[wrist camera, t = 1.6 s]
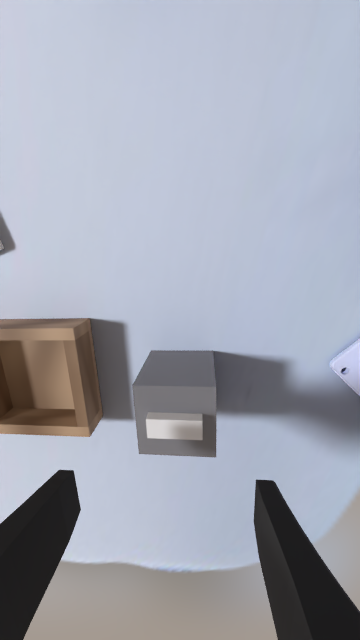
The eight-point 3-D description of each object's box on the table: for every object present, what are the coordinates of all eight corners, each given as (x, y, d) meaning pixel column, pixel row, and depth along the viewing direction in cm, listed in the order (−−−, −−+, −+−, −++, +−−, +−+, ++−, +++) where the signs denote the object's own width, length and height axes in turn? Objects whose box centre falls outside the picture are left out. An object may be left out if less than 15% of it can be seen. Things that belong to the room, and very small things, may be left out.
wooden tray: (89, 318, 18) (73, 328, 16) (103, 415, 20) (89, 436, 18) (-14, 319, 19) (-44, 329, 17) (9, 413, 21) (-15, 433, 19)
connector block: (213, 350, 18) (216, 393, 13) (213, 405, 19) (216, 466, 14) (151, 350, 18) (129, 391, 13) (155, 404, 20) (136, 462, 14)
